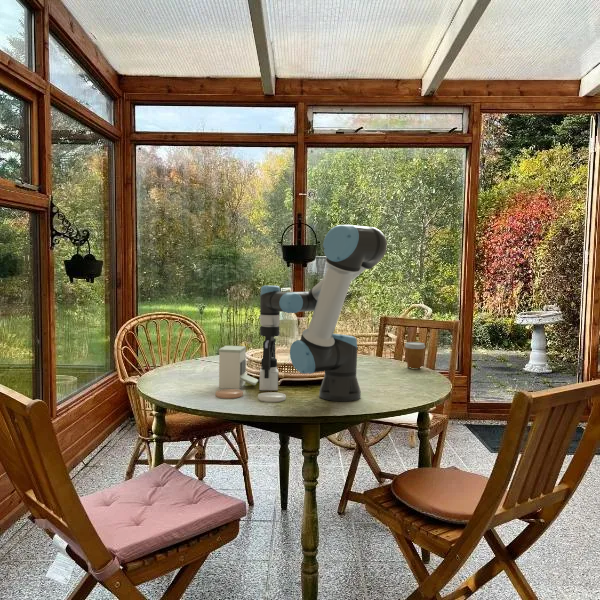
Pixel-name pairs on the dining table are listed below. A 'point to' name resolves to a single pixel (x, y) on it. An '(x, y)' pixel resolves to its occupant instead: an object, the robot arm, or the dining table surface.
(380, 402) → the dining table surface
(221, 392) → the peach round disc
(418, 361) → the disposable coffee cup
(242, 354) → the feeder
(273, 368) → the medicine bottle
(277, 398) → the white domed round part
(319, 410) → the dining table surface
